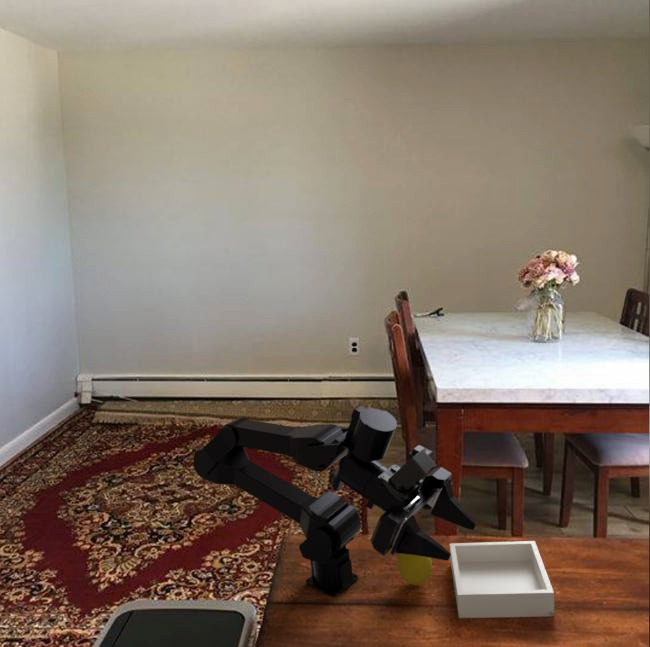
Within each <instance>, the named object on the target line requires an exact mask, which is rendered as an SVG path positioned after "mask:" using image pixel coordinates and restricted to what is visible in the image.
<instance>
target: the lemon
mask: <svg viewBox="0 0 650 647" xmlns="http://www.w3.org/2000/svg"><path fill="white" fill-rule="evenodd" d="M432 569H433V562H432V558H429V557H424V556H418V555H409V554H400V553H397V570H398V573H399V574H400V575H399V576H400V577H401V578H402V580H403V581H405V583H407V584H410V585H413V586H415V587H417V586H420V585H423V584H424V583H425V582H427V580H429V578H430V577H431V574H432Z"/></svg>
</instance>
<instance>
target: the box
mask: <svg viewBox="0 0 650 647" xmlns="http://www.w3.org/2000/svg"><path fill="white" fill-rule="evenodd" d="M449 553H450V554H451V556H450V558H449V559H450V567H451V575H452V580H453V588H454V595H455V602H456V608H457V615H458V616H457V617H458V619H479V618H480V619H482V618H483V619H485V618H487V619H489V618H530V617H531V618H535V617H537V618H539V617H545V618H546V617H547V618H548V617H555V592H554V588H553V586H552V583H551V581H550V578H549V576H548V573H547V571H546V567H545V565H544V563H543V562H544V561H543V560H542V557H541V554H540V551H539V548H538V546H537V543H536V541H535V540H523V541H521V540H520V541H488V542H457V543H456V542H454V543H449Z"/></svg>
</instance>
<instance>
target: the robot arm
mask: <svg viewBox="0 0 650 647" xmlns="http://www.w3.org/2000/svg"><path fill="white" fill-rule="evenodd" d="M397 426H398V422H397V419H396V418H395V416H393V414H391V413H389V411H386V410H381V409H379V408H373V407H369V408H368V407H365V406H363V405H359V406H357V407H355V408H354V409H353V411H352V413H351V416H350V422H349V425H348V427H341V426H339V425H336V424H333V423H325V424H314V425H309V426H305V427H296V426H289V425H282V424H277V423H271V422H265V421H259V420H253V419H250V418H249V417H246V416H242V417H237V418H236V419H234V420H231V421H229V422H228V423H226V424H225V425H223V427H222V428H221V429H220V430H219V431H218V433H217V434H216V435H215V436H214V437H213V438H212V439H211V440H210V441H209V442H208V443H207V444H206V445H205V446H203V447H201V448H200V449H197V450H196V451H195V452H194V456H193V469H194V471H195V472H196V474H197V475H198V477H200V478H201V479H204V480H205V481H207V482H211V483H213V484H215V485H223V486H224V485H225V486H235V487H237V488H239V489H241V491H244V492H245V493H247V494H249V495H251V496H252V497H254V498H256V499H257V500H259V501H260V502H262V503H264V504H265V505H266V506H269V507H270V508H272V509H274V510H276V511H277V512H279V513H280V514H283V516H286V517H287V518H289V519H291V520H292V521H294V522H295V523H297V524H298V525H299V527H300V529H301V531H302V533H303V535H304V538H305V540H303V541H302V542H301V543H300V544H299V546H298V549H299V550H300V554H301V556H302V558H303V559H307V560H310V567H311V576H310V577H309V578H307V579H306V580H305V584H306V585H308V586H309V587H311V588H312V589H315V590H317V591H319V592H321V593H323V594H325V595H327V596H329V597H336V596H337V595H339V594H340V593H341V592H342V591H345V589H347V588H348V587H349V586H351V585H352V584H353V583H354V582H356V581H357V580H359V577H358V576H359V575H357V574H356V573H354V572H353V568H352V566H353V565H352V560H351V558H350V549H348V548H347V545H348V544H349V543H351V541H353V540H354V539H355V536H356V535H357V534H358V533H359V532H360V530H361V528H362V521H361V518H360V515H359V511H358V510H357V509H356V508H355V507H354V506H353V505H352V504H350V500H349V499H345V498H342V497H340V496H339V495H338V494H336V493H335V492H337V491H338V490H339V489H341V488H342V487H343V486H345V485H346V486H347V487H349V488H350V489H351V490H353V491H354V492H356V493H357V494H359V495H360V496H361V497H363V498H364V499H365V500H367V502H366V506H365V507H367V508H368V509H370V511H371V510H373V509H374V508H375V507H377V509H380V510H381V511H382V512H383V514H382V515H380V517H379V518H378V521H377V524H376V525H375V528H374V530H373V534H372V535H371V537H370V543H371V546H372V548H373V550H375V551H376V552H378V553H379V554H380V555H382V556H383V557H386V555H388V554H389V552H390V554H391V555H392V556H394V555H395V554H399V553H400V554H409V555H418V556H424V557H429V558H431V559H436V560H442V561H446V562H447V561H449V560H450V559H451V558H450V556H451V554H450V551H448V550H447V549H446V548H445V547H444V546H443V545H442V544H441V543H440V542H438V541H437V540H435V539H434V538H433V537H432V536H430V535H429V534H428V533H427V532H425V531H424V530H422V529H421V528H420V526H419V524H418V522H417V518H416V516H415V515H416V514H417V513H418V512H419V511H421V509H423V510H426V511H427V510H428V511H430V513H429V514H430V515H431V516H434V517H436V518H439V519H440V520H444V521H447V522H449V523H451V524H454V525H457V526H459V527H462V528H464V529H467V530H469V531H470V530H471V531H475V530H476V527H477V523H476V522H475V520H474V519H473V518H472V517H471V516H470V514H469V513H468V511H467V510H466V509H465V507H463V505H462V504H461V503H460V502H459V500H458V499H457V498H456V496H455V494H454V492H453V487H452V484H453V480H452V475H453V474H452V472H450V471H449V470H447V469H445V468H444V467H442V466H440V467H439V466H438V465H437V464H436V463H435V461H434V460H435V455H434V452H433V451H432V450H429V449H428V448H426V447H424V446H422V445H420V444H418V445H417V446H416V447H414V448H413V449H412V450H411V451H410V452H409V453H408V457H409V460H407V462H406V463H404V464H403V465H402V466H401V467H400V466H398V465H397V464H392V465H391V466H389V467H387V466H386V465H384V464H383V463H381V462H380V461H379V460H382V459H385V456H386V455H387V452H388V449H389V446H390V444H391V443H392V442H391V441H392V440H393V437H394V435H395V431H396V429H397ZM245 448H247V449H252V450H256V451H257V450H258V451H262V452H267V453H273V454H277V455H282V456H286V457H289V458H291V459H293V460H294V461H295V462H296V464H297V465H298V466H301V467H303V468H306V469H307V470H311V471H313V472H318V473H321V472H324V471H325V470H327V469H329V468H330V467H331V466H333V465H334V464H335V463H337V462H338V461H339V462H338V465H337V468H336V469H335V470H333V471H331V473H330V474H329V476H330V479H331V486H332V490H333V492H332V491H330V490H328V491H326V492H324V493H323V495H321V496H319V497H316V496H313V495H312V494H309V493H308V492H306V491H304V490H302V489H300V488H299V487H297V486H295V485H293V484H292V483H291V482H288V481H287V480H285V479H283V478H282V477H279V476H278V475H276V474H274V473H272V472H271V471H269V470H267V469H265V468H263V467H262V466H260V465H258V464H256V463H255V462H253V461H252V460H250V458H249V455H248V454H247V452H246V450H245ZM437 466H438V467H437ZM430 470H431V471H430ZM334 491H335V492H334Z"/></svg>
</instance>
